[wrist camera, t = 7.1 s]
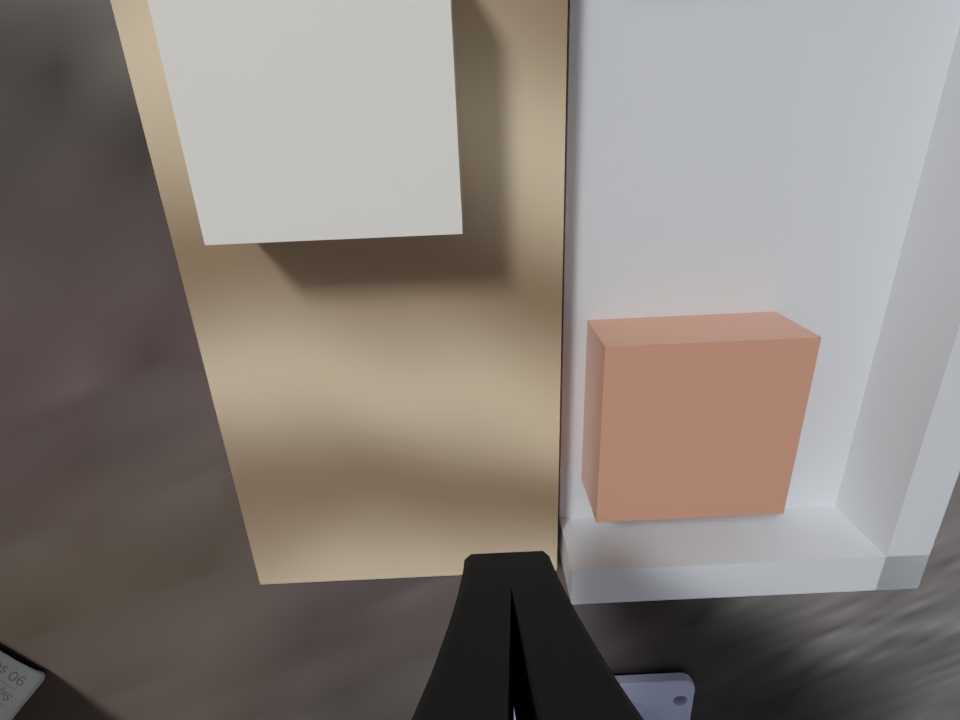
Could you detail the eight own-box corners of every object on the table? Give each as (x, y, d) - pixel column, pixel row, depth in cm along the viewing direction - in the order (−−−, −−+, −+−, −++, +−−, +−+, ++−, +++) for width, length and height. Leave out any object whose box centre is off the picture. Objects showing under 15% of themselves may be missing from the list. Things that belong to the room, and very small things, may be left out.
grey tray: (858, 528, 17) (917, 588, 15) (557, 542, 17) (571, 604, 15) (1066, -205, 11) (1234, -302, 8) (571, -186, 10) (600, -276, 8)
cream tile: (463, 219, 12) (463, 233, 10) (244, 229, 12) (204, 245, 10) (449, -46, 10) (445, -86, 8) (190, -35, 10) (130, -73, 8)
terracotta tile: (747, 470, 16) (783, 513, 14) (581, 478, 16) (596, 522, 14) (775, 311, 14) (821, 337, 12) (587, 319, 14) (605, 346, 12)
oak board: (551, 543, 17) (557, 570, 16) (273, 555, 17) (260, 584, 16) (561, -185, 10) (571, -223, 9) (102, -166, 10) (58, -203, 9)
